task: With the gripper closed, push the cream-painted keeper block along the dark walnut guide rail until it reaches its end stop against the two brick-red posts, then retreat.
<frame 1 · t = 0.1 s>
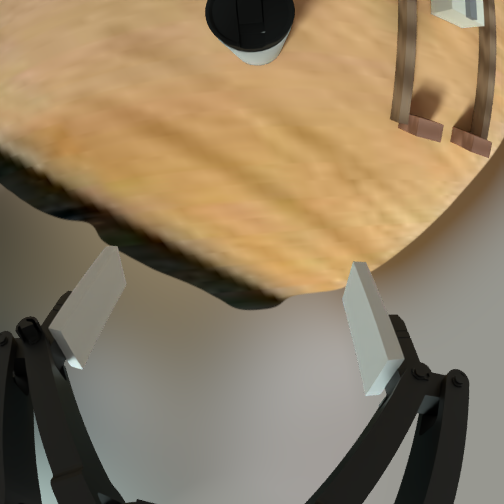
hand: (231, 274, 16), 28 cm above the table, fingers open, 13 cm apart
travel mug: (257, 43, 31), on the table
guide: (446, 48, 27), on the table
keeper: (459, 2, 20), point 4 cm above the table, slide at 0.0 cm
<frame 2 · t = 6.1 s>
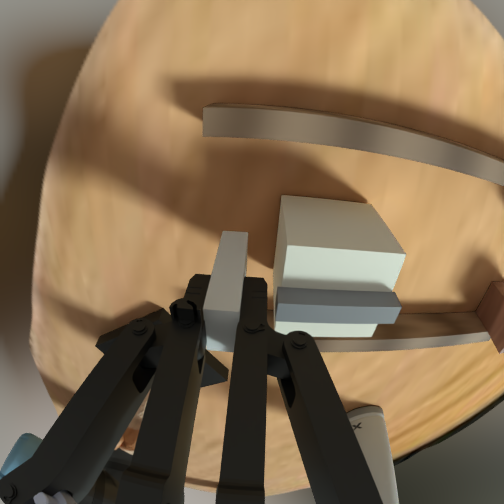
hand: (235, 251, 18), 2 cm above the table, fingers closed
travel mug: (360, 414, 35), on the table
guide: (403, 245, 20), on the table
keeper: (329, 271, 17), point 4 cm above the table, slide at 1.4 cm, touching gripper
figurine: (162, 352, 28), on the table
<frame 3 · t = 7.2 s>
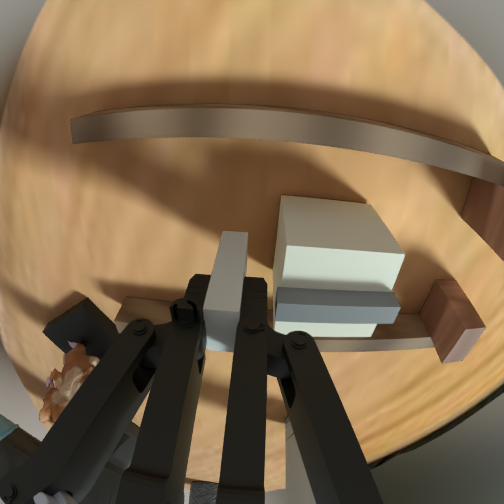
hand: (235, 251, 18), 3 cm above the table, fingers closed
travel mug: (306, 416, 35), on the table
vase: (211, 484, 67), on the table
guide: (302, 237, 20), on the table
keeper: (329, 271, 17), point 4 cm above the table, slide at 9.3 cm, touching gripper
figurine: (97, 340, 28), on the table
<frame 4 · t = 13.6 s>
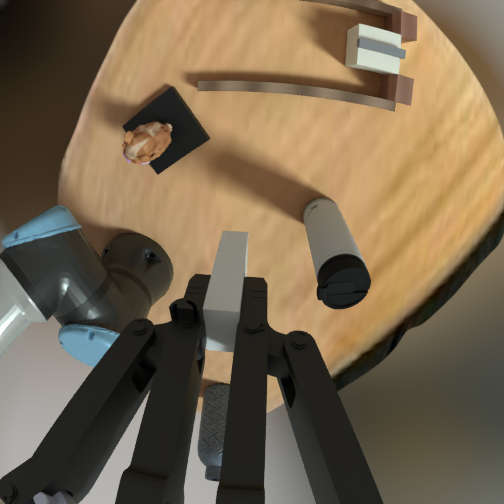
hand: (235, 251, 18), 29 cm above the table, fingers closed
travel mug: (320, 213, 48), on the table
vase: (224, 392, 81), on the table
guide: (302, 41, 33), on the table
keeper: (373, 50, 30), point 4 cm above the table, slide at 17.5 cm, touching guide
figurine: (166, 130, 42), on the table
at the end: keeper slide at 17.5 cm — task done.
